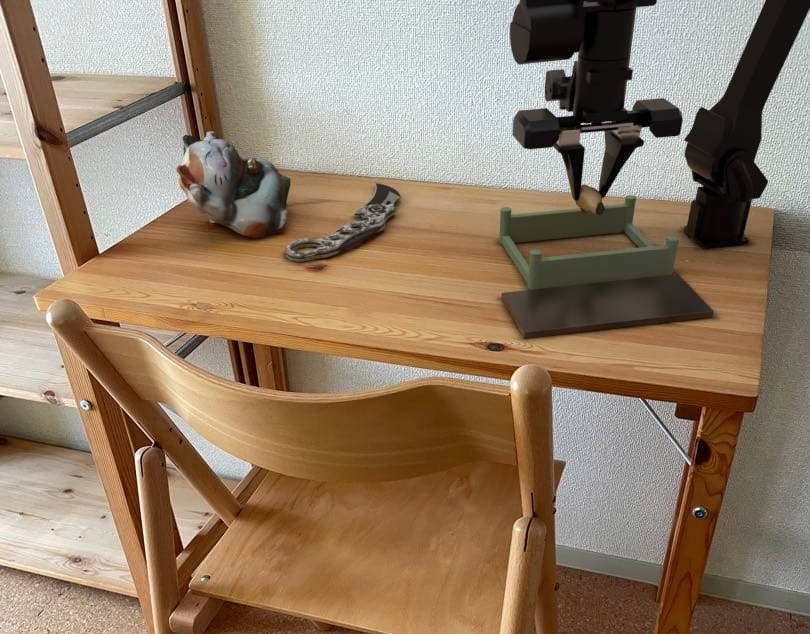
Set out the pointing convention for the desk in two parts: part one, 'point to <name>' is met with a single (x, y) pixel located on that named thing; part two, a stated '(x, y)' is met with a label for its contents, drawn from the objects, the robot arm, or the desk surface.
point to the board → (604, 305)
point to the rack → (584, 265)
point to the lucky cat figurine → (233, 187)
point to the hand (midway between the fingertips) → (588, 198)
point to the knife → (350, 228)
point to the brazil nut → (590, 200)
